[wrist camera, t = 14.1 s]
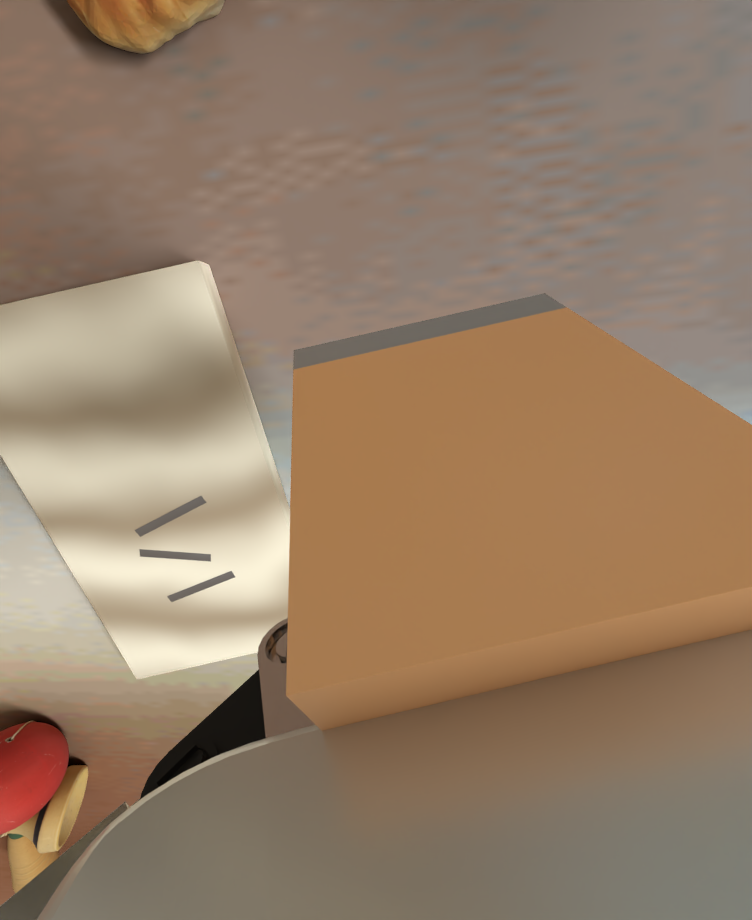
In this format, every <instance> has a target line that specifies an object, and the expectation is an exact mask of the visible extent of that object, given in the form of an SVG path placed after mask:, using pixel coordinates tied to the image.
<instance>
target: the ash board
mask: <svg viewBox="0 0 752 920" xmlns="http://www.w3.org/2000/svg"><path fill="white" fill-rule="evenodd" d="M0 455H1V457H2V458H3V460H4V462H5V463H6V465H7V467H8V468H9V470H10V472H11V473H12V475H13V476H14V478H15V480H16V481H17V483H18V485H19V486H20V488H21V490H22V491H23V493H24V495H25V496H26V498H27V499H28V501H29V503H30V504H31V506H32V508H33V509H34V511H35V513H36V514H37V516H38V518H39V519H40V521H41V522H42V524H43V526H44V527H45V529H46V531H47V532H48V534H49V536H50V537H51V539H52V541H53V542H54V544H55V545H56V547H57V549H58V550H59V552H60V554H61V555H62V557H63V559H64V560H65V562H66V564H67V565H68V567H69V568H70V570H71V572H72V573H73V575H74V577H75V578H76V580H77V582H78V583H79V585H80V587H81V588H82V590H83V591H84V593H85V595H86V596H87V598H88V600H89V601H90V603H91V605H92V606H93V608H94V610H95V611H96V613H97V615H98V616H99V618H100V619H101V621H102V623H103V624H104V626H105V628H106V629H107V631H108V633H109V634H110V636H111V638H112V639H113V641H114V642H115V644H116V646H117V647H118V649H119V651H120V652H121V654H122V656H123V657H124V659H125V661H126V662H127V664H128V665H129V667H130V669H131V670H132V672H133V674H134V675H135V677H136V679H141V678H145V677H150V676H154V675H159V674H163V673H168V672H172V671H177V670H181V669H185V668H190V667H194V666H199V665H203V664H208V663H212V662H216V661H221V660H225V659H230V658H234V657H239V656H243V655H248V654H252V653H256V652H258V647H259V645H260V643H261V640H262V638H263V637H264V636H265V635H266V633H267V632H268V631H269V630H270V629H271V628H272V627H274V626H275V625H276V624H277V623H279V622H281V621H282V620H284V619H286V618H288V588H289V544H290V508H289V505H288V502H287V499H286V496H285V493H284V490H283V487H282V484H281V481H280V478H279V475H278V472H277V469H276V466H275V463H274V459H273V456H272V453H271V450H270V447H269V444H268V441H267V438H266V435H265V432H264V429H263V426H262V423H261V420H260V417H259V414H258V411H257V408H256V405H255V402H254V399H253V396H252V393H251V390H250V387H249V384H248V381H247V378H246V375H245V372H244V369H243V366H242V363H241V360H240V357H239V354H238V351H237V348H236V345H235V342H234V339H233V336H232V332H231V329H230V326H229V323H228V320H227V317H226V314H225V311H224V308H223V305H222V302H221V299H220V296H219V293H218V290H217V287H216V284H215V281H214V278H213V275H212V272H211V269H210V266H209V265H208V264H206V263H203V262H201V261H193V262H189V263H184V264H180V265H175V266H171V267H166V268H162V269H158V270H153V271H149V272H144V273H140V274H135V275H131V276H127V277H122V278H118V279H113V280H109V281H104V282H100V283H96V284H91V285H87V286H82V287H78V288H73V289H69V290H65V291H60V292H56V293H51V294H47V295H42V296H38V297H33V298H29V299H25V300H20V301H16V302H11V303H7V304H2V305H0Z"/></svg>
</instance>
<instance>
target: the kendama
mask: <svg viewBox="0 0 752 920" xmlns="http://www.w3.org/2000/svg"><path fill="white" fill-rule="evenodd" d="M68 761H69V749H68V744H67V741H66V739H65V737H64V735H63V734H62V733H61V732H60V731H59V730H58V729H57V728H55V727H54V726H52V725H49V724H46V723H41V722H35V721H33V720H32V721H29V722H27V723H22V724H18V725H15V726H12V727H9V728H7V729H5V730H2V731H0V837H3V836H6V835H7V834H8V842H7V849H8V858H9V864H10V869H11V876H12V887H13V890H14V892H15V893H17V892H18V891H19V890H20V889H22V888H23V887H24V886H25V885H26V884H28V883H29V882H30V881H31V880H32V879H34V878H35V877H36V876H37V875H38V874H39V873H41V872H42V871H43V870H44V869H45V868H47V867H48V866H49V865H50V864H51V863H53V862H54V861H55V860H56V859H57V858H59V851H58V850H59V849H60V848H61V847H62V846H63V845H64V843H65V842H66V840H67V838H68V836H69V834H70V832H71V830H72V828H73V825H74V823H75V821H76V818H77V815H78V812H79V810H80V806H81V803H82V800H83V797H84V793H85V789H86V784H87V779H88V767H87V766H86V765H72V766H69V767H68V768H67V766H68Z"/></svg>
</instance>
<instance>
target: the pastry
mask: <svg viewBox="0 0 752 920" xmlns="http://www.w3.org/2000/svg"><path fill="white" fill-rule="evenodd" d="M224 1H225V0H67V2H68V3H69V5H70V6H71V7H72V9H73V10H74V11H75V13H76V14H77V16H78V17H79V18H80V20H81V21H82V22H83V23H84V25H85V26H86V27H87V28H88V29H89V30H90V31H91V32H92V33H93V34H94V35H95V36H96V37H98V38H99V39H100V40H102V41H103V42H105V43H107V44H109V45H111V46H114V47H117V48H120V49H123V50H126V51H130V52H135V53H141V54H144V53H148V52H153V51H155V50H156V49H158V48H160V47H161V46H162V45H163V44H164V43H165V42H167V41H170V40H171V39H172V38H173V37H174V36H175V35H177V34H179V33H181V32H183V31H185V30H187V29H189V28H190V27H192V26H193V25H194V24H195V23H197V22H199V21H204V20H208V19H210V18H212V17H214V16H216V15H218V14H219V13H220V12H221V10H222V7H223V4H224Z"/></svg>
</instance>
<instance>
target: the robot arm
mask: <svg viewBox="0 0 752 920" xmlns="http://www.w3.org/2000/svg"><path fill="white" fill-rule="evenodd" d="M287 632H288V618H286V619H284V620H282V621H281V622H279V623H277V624H276V625H275V626H274V627H272V628H271V629H270V630H269V631H268V632H267V633H266V635H265V636H264V637H263V638H262V640H261V643H260V645H259V647H258V665H259V670H258V671H257V672H256V673H255V674H254V675H252V676H251V677H250V678H249V679H248V680H247V681H246V682H245V683H244V684H243V685H241V686H240V687H239V688H238V689H237V690H236V691H235V692H234V693H233V694H232V695H231V696H229V697H228V698H227V699H226V700H225V701H224V702H223V703H222V704H221V705H220V706H219V707H217V708H216V709H215V710H214V711H213V712H212V713H211V714H210V715H209V716H208V717H207V718H205V719H204V720H203V721H202V722H201V723H200V724H199V725H198V726H197V727H196V728H195V729H193V730H192V731H191V732H190V733H189V734H188V735H187V736H186V737H185V738H184V739H183V740H181V741H180V742H179V743H178V744H177V745H176V746H175V747H174V748H173V749H172V750H170V751H169V752H168V754H167V755H166V756H165V757H164V758H163V759H162V760H161V761H160V762H159V763H158V764H157V766H156V767H155V769H154V770H153V772H152V773H151V775H150V776H149V778H148V780H147V782H146V784H145V787H144V789H143V791H142V793H141V798H140V799H139V800H138V801H137V802H135V803H134V804H133V805H132V806H131V807H129V806H128V805H127V803H126V802H124V803H123V804H122V805H121V806H120V807H118V808H117V809H116V810H115V811H114V812H112V813H111V814H110V815H109V816H108V817H106V818H105V819H104V820H103V821H102V822H100V823H99V824H98V825H97V826H96V827H94V828H93V829H92V830H91V831H90V832H88V833H87V834H86V835H85V836H84V837H82V838H81V839H80V840H79V841H78V842H77V843H75V844H74V845H73V846H72V847H71V848H69V849H68V850H67V851H66V852H65V853H63V854H62V855H61V856H60V857H59V858H57V859H56V860H55V861H54V862H53V863H51V864H50V865H49V866H48V867H47V868H45V869H44V870H43V871H42V872H41V873H39V874H38V875H37V876H36V877H35V878H34V879H32V880H31V881H30V882H29V883H28V884H26V885H25V886H24V887H23V888H22V889H20V890H19V891H18V892H17V893H16V894H14V895H13V896H12V897H11V898H10V899H8V900H7V901H6V902H5V903H4V904H2V905H1V906H0V920H752V630H747V631H743V632H739V633H735V634H730V635H726V636H722V637H717V638H713V639H709V640H705V641H700V642H696V643H692V644H687V645H683V646H679V647H675V648H670V649H666V650H662V651H657V652H653V653H649V654H645V655H640V656H636V657H632V658H627V659H623V660H619V661H615V662H610V663H606V664H602V665H598V666H593V667H589V668H585V669H581V670H576V671H572V672H568V673H564V674H559V675H555V676H551V677H547V678H542V679H538V680H534V681H530V682H525V683H521V684H517V685H513V686H508V687H504V688H500V689H496V690H492V691H487V692H483V693H479V694H475V695H470V696H466V697H462V698H458V699H454V700H449V701H445V702H441V703H437V704H433V705H428V706H424V707H420V708H416V709H411V710H407V711H403V712H399V713H395V714H390V715H386V716H382V717H378V718H373V719H369V720H365V721H361V722H357V723H352V724H348V725H344V726H340V727H336V728H331V729H327V730H323V731H321V730H320V729H319V728H318V727H317V726H316V725H315V724H314V723H313V722H312V721H311V720H310V719H309V718H308V717H307V716H306V715H305V714H304V713H303V712H302V711H301V710H300V709H299V708H298V707H297V706H296V705H295V704H294V703H293V702H292V701H291V700H290V699H289V698H288V697H287V696H286V676H287Z"/></svg>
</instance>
